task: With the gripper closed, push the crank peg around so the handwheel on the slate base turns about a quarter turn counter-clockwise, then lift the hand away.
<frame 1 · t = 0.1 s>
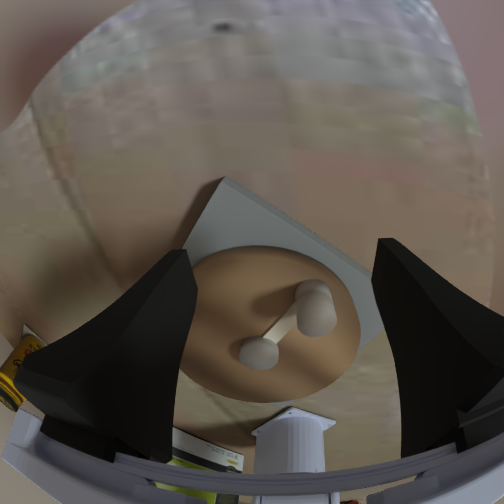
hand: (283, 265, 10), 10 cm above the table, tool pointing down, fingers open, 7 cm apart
condiment: (38, 348, 33), on the table
handwheel: (259, 353, 21), point 4 cm above the table, hinge at 0.0°
tea box: (195, 446, 40), on the table
base plate: (262, 317, 25), on the table
flower: (348, 501, 61), on the table
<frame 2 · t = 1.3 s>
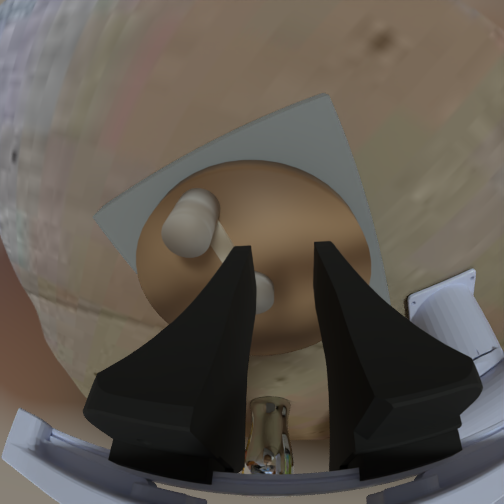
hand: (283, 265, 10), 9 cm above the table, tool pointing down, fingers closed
beer glass: (270, 403, 38), on the table
handwheel: (250, 293, 18), point 4 cm above the table, hinge at 0.0°
base plate: (254, 253, 22), on the table
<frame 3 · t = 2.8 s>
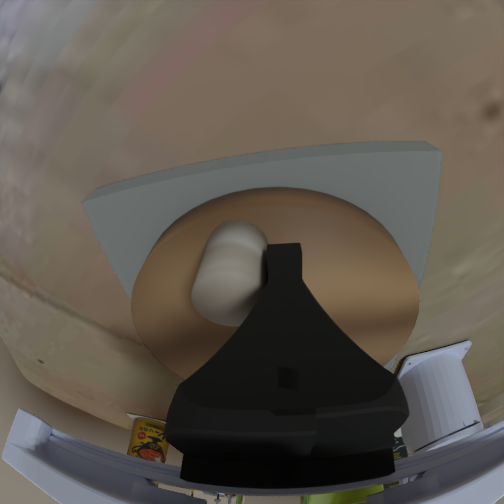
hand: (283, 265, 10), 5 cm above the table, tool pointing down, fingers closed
condiment: (154, 424, 38), on the table
beer glass: (225, 425, 34), on the table
handwheel: (276, 350, 14), point 4 cm above the table, hinge at 6.5°, touching gripper
tea box: (348, 431, 36), on the table
base plate: (275, 293, 18), on the table
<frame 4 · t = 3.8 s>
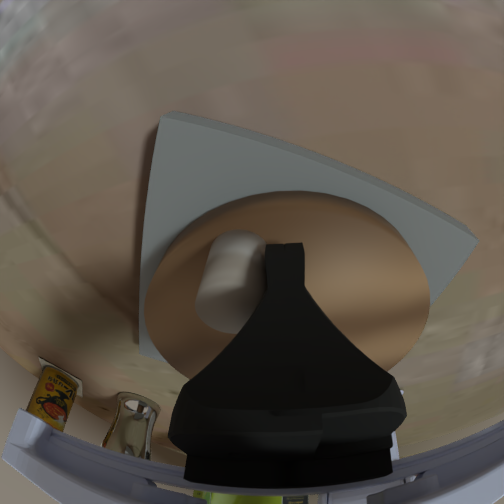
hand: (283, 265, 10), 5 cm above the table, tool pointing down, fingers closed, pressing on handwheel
condiment: (62, 376, 32), on the table
beer glass: (139, 401, 32), on the table
handwheel: (290, 352, 14), point 4 cm above the table, hinge at 40.3°, touching gripper
tea box: (253, 439, 38), on the table
base plate: (287, 295, 18), on the table
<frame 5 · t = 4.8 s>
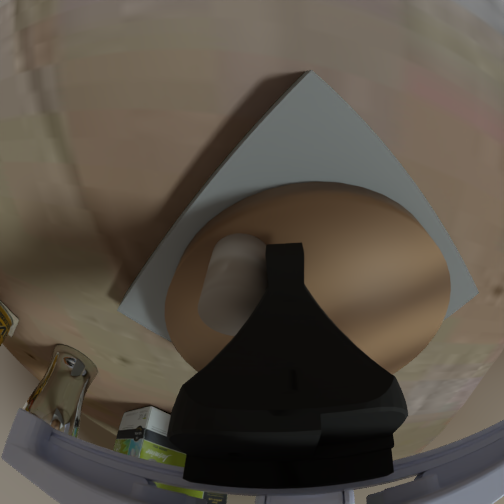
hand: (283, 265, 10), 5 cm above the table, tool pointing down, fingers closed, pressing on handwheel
beer glass: (76, 358, 27), on the table
handwheel: (314, 347, 14), point 4 cm above the table, hinge at 75.1°, touching gripper
tea box: (178, 425, 36), on the table
base plate: (308, 290, 18), on the table
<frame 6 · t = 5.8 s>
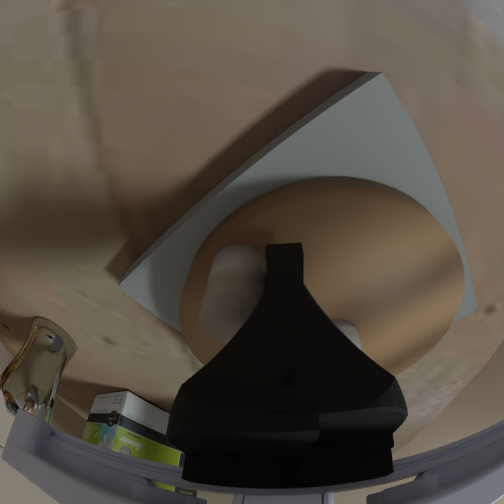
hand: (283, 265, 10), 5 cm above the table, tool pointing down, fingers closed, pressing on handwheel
beer glass: (55, 334, 25), on the table
handwheel: (331, 344, 14), point 4 cm above the table, hinge at 94.0°, touching gripper
tea box: (150, 413, 35), on the table
base plate: (322, 287, 17), on the table
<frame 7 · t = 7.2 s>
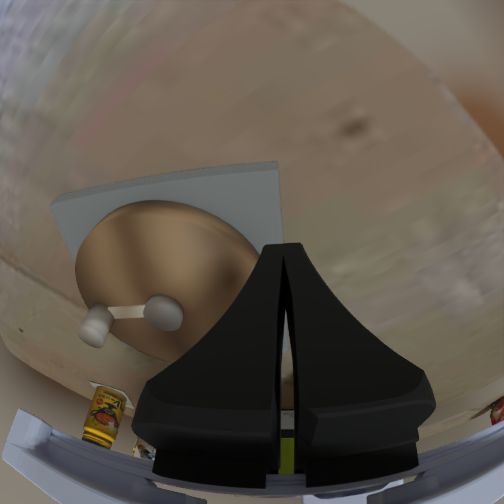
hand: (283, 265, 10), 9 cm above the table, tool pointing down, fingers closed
condiment: (113, 394, 43), on the table
beer glass: (169, 397, 40), on the table
handwheel: (163, 313, 20), point 4 cm above the table, hinge at 96.9°
tea box: (283, 417, 42), on the table
base plate: (177, 275, 24), on the table
flower: (498, 399, 47), on the table
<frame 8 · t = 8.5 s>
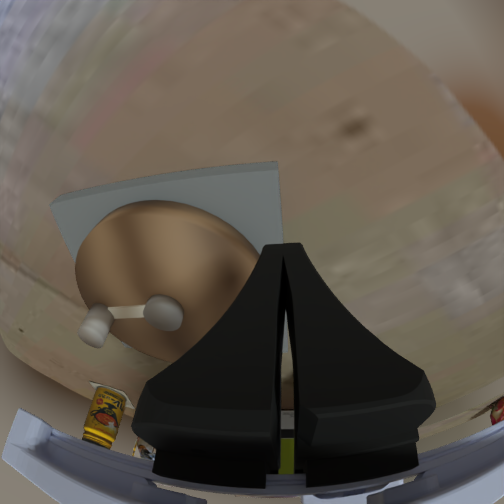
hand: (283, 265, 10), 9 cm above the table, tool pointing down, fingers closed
condiment: (113, 394, 43), on the table
beer glass: (169, 397, 40), on the table
handwheel: (163, 313, 20), point 4 cm above the table, hinge at 96.9°
tea box: (283, 417, 42), on the table
base plate: (177, 275, 24), on the table
flower: (498, 399, 47), on the table
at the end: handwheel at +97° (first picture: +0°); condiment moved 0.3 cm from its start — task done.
